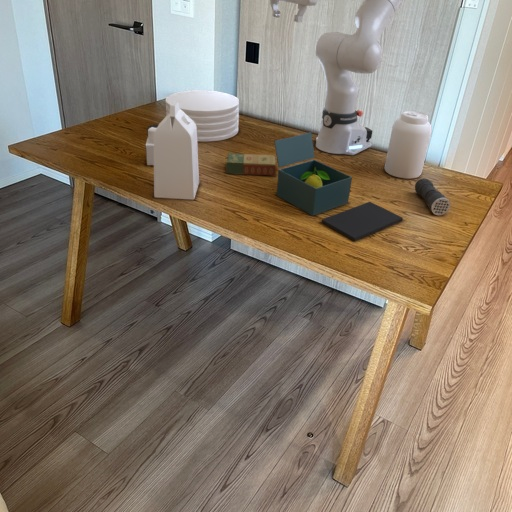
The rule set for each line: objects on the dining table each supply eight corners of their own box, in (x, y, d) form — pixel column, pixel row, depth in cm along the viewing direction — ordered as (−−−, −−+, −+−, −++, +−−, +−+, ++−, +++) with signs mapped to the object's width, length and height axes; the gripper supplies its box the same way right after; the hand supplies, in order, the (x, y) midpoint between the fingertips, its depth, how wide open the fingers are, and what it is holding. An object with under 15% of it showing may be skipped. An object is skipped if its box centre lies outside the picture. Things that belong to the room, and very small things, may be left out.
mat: (369, 204, 147) (369, 201, 147) (402, 220, 140) (402, 217, 139) (321, 222, 136) (321, 219, 136) (354, 241, 129) (354, 238, 128)
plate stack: (236, 143, 185) (237, 112, 179) (161, 139, 184) (159, 108, 178) (239, 120, 208) (240, 92, 202) (172, 116, 208) (171, 88, 202)
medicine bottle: (148, 157, 169) (146, 122, 163) (170, 157, 170) (168, 123, 163) (146, 165, 163) (144, 129, 157) (168, 165, 164) (167, 130, 157)
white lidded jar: (376, 171, 169) (388, 112, 158) (395, 162, 177) (407, 105, 166) (409, 182, 162) (424, 122, 151) (427, 172, 170) (442, 114, 159)
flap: (279, 167, 144) (278, 167, 145) (314, 157, 152) (314, 157, 153) (274, 140, 142) (274, 140, 143) (311, 132, 150) (310, 132, 150)
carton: (275, 176, 161) (275, 164, 159) (225, 173, 161) (225, 161, 159) (274, 166, 168) (275, 154, 166) (227, 163, 168) (227, 151, 166)
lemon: (326, 200, 147) (331, 169, 142) (311, 204, 145) (315, 172, 139) (312, 191, 152) (316, 161, 147) (297, 195, 149) (300, 164, 144)
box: (276, 195, 149) (278, 169, 145) (311, 184, 157) (314, 159, 153) (312, 215, 139) (316, 188, 135) (347, 203, 147) (352, 177, 143)
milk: (162, 180, 154) (157, 95, 140) (199, 182, 154) (198, 97, 140) (154, 197, 144) (148, 107, 130) (193, 199, 144) (192, 110, 130)
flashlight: (411, 192, 156) (415, 176, 153) (428, 192, 157) (432, 176, 154) (429, 215, 143) (434, 198, 140) (447, 215, 144) (452, 198, 141)
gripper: (326, -33, 131) (320, 24, 138) (275, -39, 144) (272, 14, 151) (309, -34, 127) (303, 25, 135) (258, -39, 140) (256, 15, 148)
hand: (286, 19), depth 143 cm, fingers open, 8 cm apart
